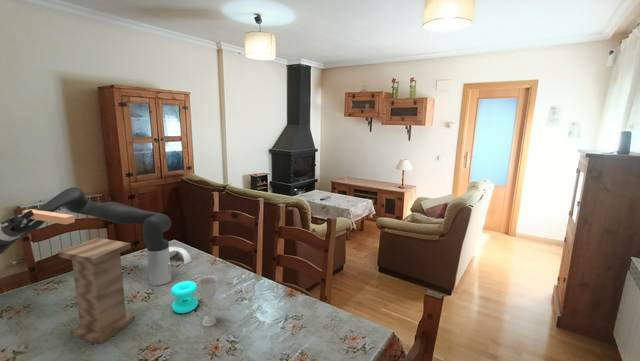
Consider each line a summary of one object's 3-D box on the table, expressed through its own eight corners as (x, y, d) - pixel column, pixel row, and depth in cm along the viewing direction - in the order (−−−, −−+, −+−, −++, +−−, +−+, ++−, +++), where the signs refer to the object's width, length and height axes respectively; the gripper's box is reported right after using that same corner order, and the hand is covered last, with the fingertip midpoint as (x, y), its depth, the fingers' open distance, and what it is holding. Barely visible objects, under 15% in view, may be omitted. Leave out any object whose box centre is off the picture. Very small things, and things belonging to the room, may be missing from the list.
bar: (23, 217, 116) (22, 211, 115) (32, 215, 118) (31, 209, 118) (66, 224, 110) (65, 217, 109) (74, 221, 113) (74, 215, 112)
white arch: (150, 258, 174) (149, 246, 173) (168, 251, 185) (167, 239, 184) (179, 267, 164) (179, 255, 163) (197, 259, 175) (196, 247, 173)
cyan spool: (165, 288, 125) (185, 277, 134) (166, 310, 127) (186, 298, 136) (182, 294, 121) (202, 283, 130) (184, 317, 123) (203, 304, 132)
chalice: (222, 319, 122) (221, 277, 119) (211, 329, 116) (209, 285, 113) (207, 314, 125) (205, 273, 121) (195, 325, 118) (193, 282, 115)
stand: (69, 334, 111) (58, 251, 105) (105, 312, 124) (97, 237, 118) (103, 344, 107) (93, 258, 101) (137, 320, 120) (130, 243, 114)
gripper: (-15, 225, 114) (9, 206, 108) (29, 214, 127) (53, 198, 122) (-5, 243, 114) (19, 225, 108) (38, 230, 127) (62, 214, 122)
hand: (37, 211), depth 115 cm, fingers closed on bar, 3 cm apart
